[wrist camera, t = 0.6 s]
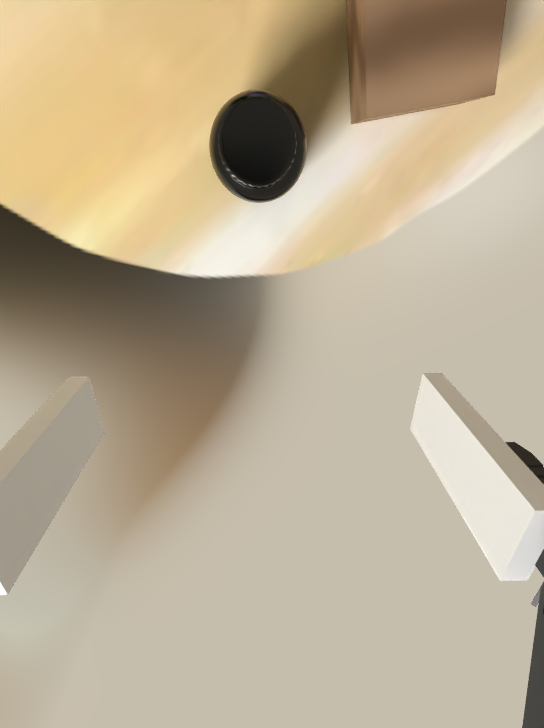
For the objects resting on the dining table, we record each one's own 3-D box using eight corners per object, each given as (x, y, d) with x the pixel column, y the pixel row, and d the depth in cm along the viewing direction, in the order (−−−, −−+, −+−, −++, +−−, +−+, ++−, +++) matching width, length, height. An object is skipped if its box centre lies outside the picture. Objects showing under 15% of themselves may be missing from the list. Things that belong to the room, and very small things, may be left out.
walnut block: (345, -19, 27) (363, -59, 22) (469, -46, 26) (517, -94, 21) (351, 124, 31) (366, 118, 26) (457, 104, 31) (494, 94, 26)
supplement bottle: (305, 123, 31) (330, 93, 21) (286, 206, 34) (299, 218, 24) (227, 101, 30) (210, 58, 20) (215, 189, 33) (194, 192, 23)
